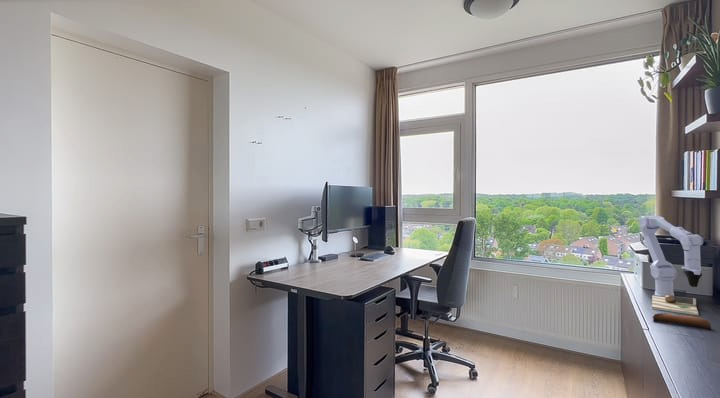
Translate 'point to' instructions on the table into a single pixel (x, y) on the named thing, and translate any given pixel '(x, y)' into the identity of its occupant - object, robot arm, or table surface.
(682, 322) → the sunglasses case
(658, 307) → the board
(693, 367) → the table surface
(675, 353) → the table surface
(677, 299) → the bronze ball with handle
